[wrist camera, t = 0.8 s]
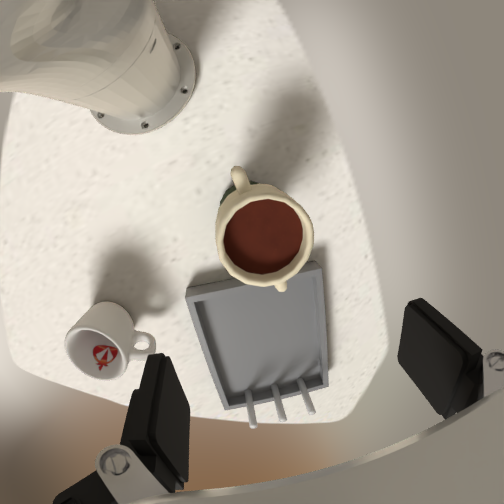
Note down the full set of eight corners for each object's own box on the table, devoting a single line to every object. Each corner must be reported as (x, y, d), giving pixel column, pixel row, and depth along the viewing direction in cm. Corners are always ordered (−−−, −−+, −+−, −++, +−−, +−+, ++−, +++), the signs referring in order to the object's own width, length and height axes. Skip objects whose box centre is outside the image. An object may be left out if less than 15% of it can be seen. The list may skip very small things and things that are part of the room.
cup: (162, 301, 36) (151, 338, 28) (160, 350, 38) (152, 390, 31) (84, 288, 34) (58, 320, 26) (89, 338, 36) (69, 373, 29)
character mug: (292, 239, 35) (331, 286, 23) (235, 261, 35) (247, 320, 23) (260, 151, 31) (288, 150, 19) (199, 175, 31) (188, 189, 19)
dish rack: (186, 288, 35) (180, 322, 28) (315, 260, 36) (338, 287, 29) (224, 398, 42) (226, 436, 35) (323, 376, 43) (339, 410, 36)
